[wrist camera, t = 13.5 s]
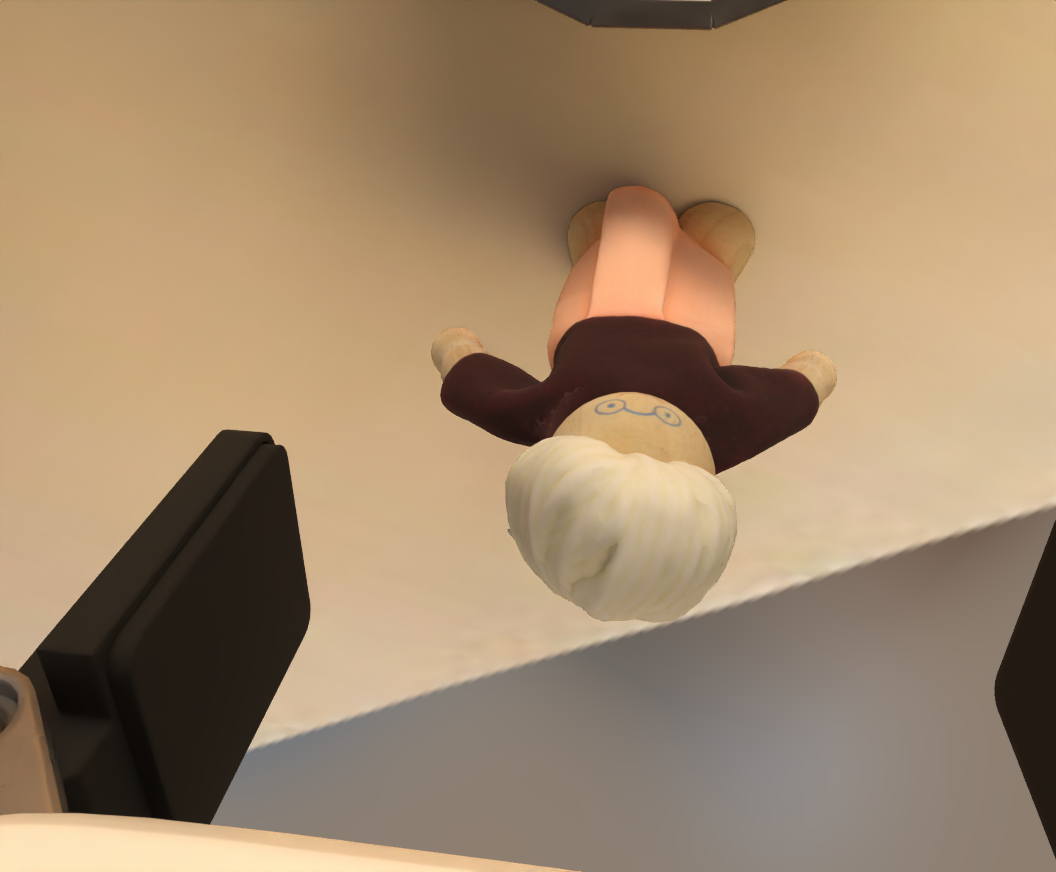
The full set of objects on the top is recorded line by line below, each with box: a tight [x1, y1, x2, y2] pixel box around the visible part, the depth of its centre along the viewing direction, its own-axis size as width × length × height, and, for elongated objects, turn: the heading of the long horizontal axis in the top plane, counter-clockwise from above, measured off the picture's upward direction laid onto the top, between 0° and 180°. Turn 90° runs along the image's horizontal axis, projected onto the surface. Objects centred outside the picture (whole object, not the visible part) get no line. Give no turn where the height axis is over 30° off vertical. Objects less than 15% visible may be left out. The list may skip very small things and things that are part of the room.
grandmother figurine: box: [431, 186, 837, 622], centre depth 17 cm, size 8×4×13 cm, turn 100°
